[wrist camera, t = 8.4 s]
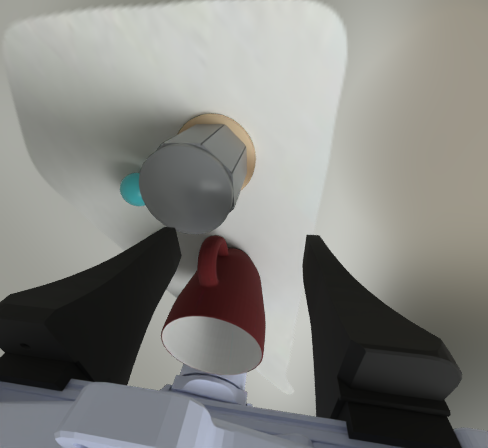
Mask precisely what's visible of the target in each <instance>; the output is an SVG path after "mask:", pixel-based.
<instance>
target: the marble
mask: <svg viewBox="0 0 488 448" xmlns="http://www.w3.org/2000/svg"><path fill="white" fill-rule="evenodd" d="M139 175H140V173H132V174H129V175H127V176H126V177H125V178H124V179H123V180H122V182H121V185H120V192H121V195H122V197H123V198H124V200H125V201H126V202H128V203H129V204H131V205H134V206H144V205H145V203H144V201H143V199H142V196H141V194H140V189H139Z"/></svg>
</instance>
